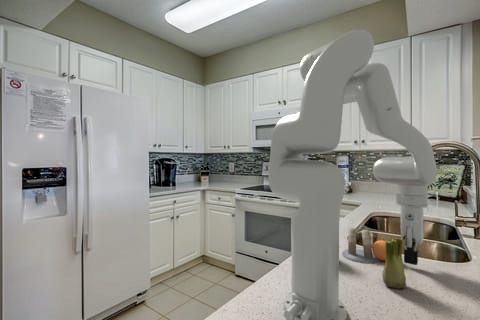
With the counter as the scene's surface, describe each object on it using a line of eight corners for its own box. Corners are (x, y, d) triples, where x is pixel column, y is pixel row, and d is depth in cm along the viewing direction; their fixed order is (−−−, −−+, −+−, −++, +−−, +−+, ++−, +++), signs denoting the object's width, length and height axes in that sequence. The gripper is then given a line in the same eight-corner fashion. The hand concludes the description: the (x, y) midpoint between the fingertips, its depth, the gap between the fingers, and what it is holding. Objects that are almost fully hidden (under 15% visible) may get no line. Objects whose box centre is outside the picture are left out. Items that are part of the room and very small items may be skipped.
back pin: (355, 256, 81) (355, 230, 81) (347, 254, 82) (347, 228, 82) (356, 253, 83) (357, 228, 83) (349, 252, 84) (349, 227, 84)
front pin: (371, 259, 78) (368, 232, 78) (363, 258, 79) (360, 231, 80) (373, 256, 80) (370, 230, 80) (365, 255, 81) (362, 229, 82)
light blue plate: (375, 266, 73) (375, 265, 73) (337, 257, 80) (337, 256, 80) (382, 254, 82) (382, 254, 82) (347, 247, 89) (347, 246, 89)
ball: (368, 241, 78) (368, 259, 79) (389, 246, 74) (389, 266, 74) (376, 236, 82) (377, 254, 82) (397, 241, 77) (397, 259, 78)
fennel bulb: (387, 290, 60) (387, 241, 60) (376, 280, 65) (377, 235, 65) (411, 291, 60) (412, 241, 60) (399, 281, 65) (399, 235, 65)
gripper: (426, 205, 64) (425, 276, 64) (428, 198, 76) (427, 258, 76) (392, 202, 69) (391, 268, 69) (399, 195, 80) (398, 252, 81)
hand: (410, 262), depth 73 cm, fingers closed
